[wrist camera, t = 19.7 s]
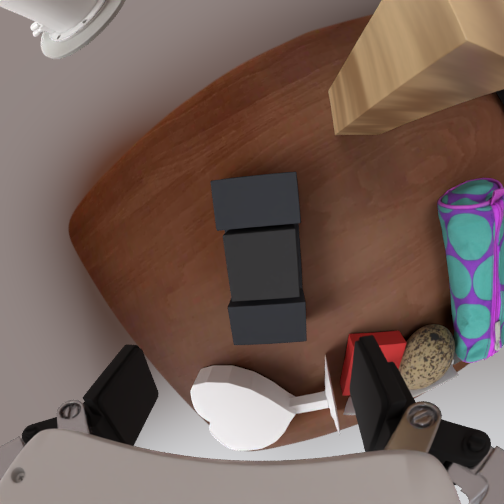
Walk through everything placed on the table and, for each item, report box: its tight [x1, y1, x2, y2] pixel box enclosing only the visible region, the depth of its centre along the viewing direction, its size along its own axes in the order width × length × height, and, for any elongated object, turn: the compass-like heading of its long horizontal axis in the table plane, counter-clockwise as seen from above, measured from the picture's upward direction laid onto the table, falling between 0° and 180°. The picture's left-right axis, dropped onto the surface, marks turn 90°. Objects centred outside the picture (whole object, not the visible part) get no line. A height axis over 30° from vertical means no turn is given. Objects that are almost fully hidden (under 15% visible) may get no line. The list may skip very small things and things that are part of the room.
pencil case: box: [437, 178, 504, 363], centre depth 22 cm, size 21×9×10 cm, turn 24°
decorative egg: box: [398, 324, 455, 390], centre depth 27 cm, size 7×7×10 cm
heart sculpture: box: [190, 355, 340, 451], centre depth 32 cm, size 16×5×18 cm
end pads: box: [211, 172, 307, 345], centre depth 27 cm, size 8×16×4 cm, turn 6°
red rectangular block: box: [340, 331, 406, 396], centre depth 28 cm, size 8×7×6 cm
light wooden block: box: [328, 0, 504, 135], centre depth 14 cm, size 5×5×22 cm
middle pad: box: [223, 224, 300, 301], centre depth 27 cm, size 6×6×4 cm
